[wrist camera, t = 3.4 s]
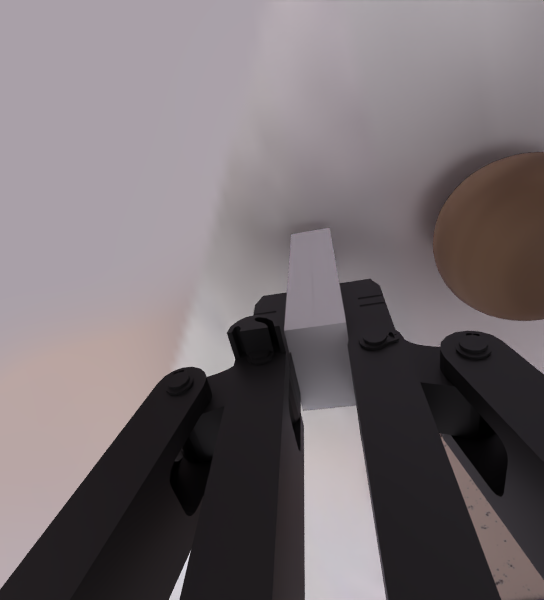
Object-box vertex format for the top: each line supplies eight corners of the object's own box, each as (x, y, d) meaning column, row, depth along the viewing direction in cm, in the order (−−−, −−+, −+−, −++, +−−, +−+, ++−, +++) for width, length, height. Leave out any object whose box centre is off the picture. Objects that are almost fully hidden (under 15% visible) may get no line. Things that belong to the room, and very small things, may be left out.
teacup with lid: (394, 425, 22) (475, 726, 12) (569, 419, 21) (819, 743, 11) (387, 542, 28) (437, 808, 18) (522, 542, 27) (657, 824, 17)
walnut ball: (575, 125, 14) (721, 154, 9) (551, 264, 16) (653, 343, 12) (415, 155, 15) (470, 196, 10) (416, 283, 17) (461, 364, 13)
